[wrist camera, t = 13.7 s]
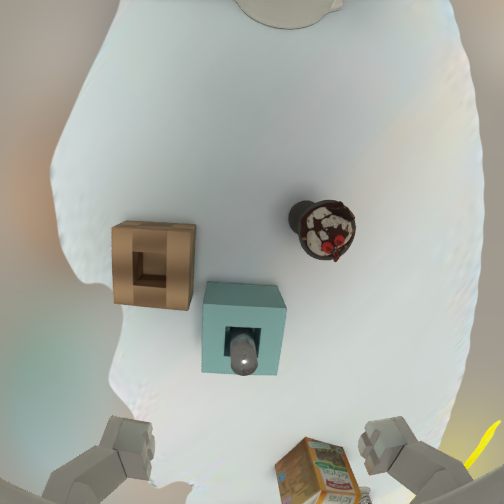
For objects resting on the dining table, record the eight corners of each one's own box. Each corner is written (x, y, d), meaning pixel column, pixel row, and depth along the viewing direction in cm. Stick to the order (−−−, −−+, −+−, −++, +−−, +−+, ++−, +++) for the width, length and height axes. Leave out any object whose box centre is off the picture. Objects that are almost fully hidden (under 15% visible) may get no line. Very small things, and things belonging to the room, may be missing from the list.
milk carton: (274, 464, 55) (287, 535, 36) (305, 436, 53) (327, 511, 35) (312, 473, 57) (330, 537, 38) (342, 447, 55) (369, 513, 37)
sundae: (290, 248, 44) (320, 284, 29) (276, 203, 42) (300, 216, 28) (333, 233, 44) (380, 261, 29) (321, 188, 42) (365, 195, 28)
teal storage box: (207, 281, 44) (203, 303, 36) (277, 286, 45) (286, 308, 37) (205, 342, 46) (201, 372, 39) (269, 345, 47) (276, 375, 39)
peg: (230, 308, 44) (231, 353, 33) (251, 309, 44) (259, 354, 33) (229, 327, 45) (230, 375, 33) (249, 328, 45) (256, 376, 34)
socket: (126, 220, 41) (111, 227, 35) (195, 224, 42) (190, 232, 36) (127, 288, 43) (114, 303, 38) (192, 293, 44) (188, 310, 39)
